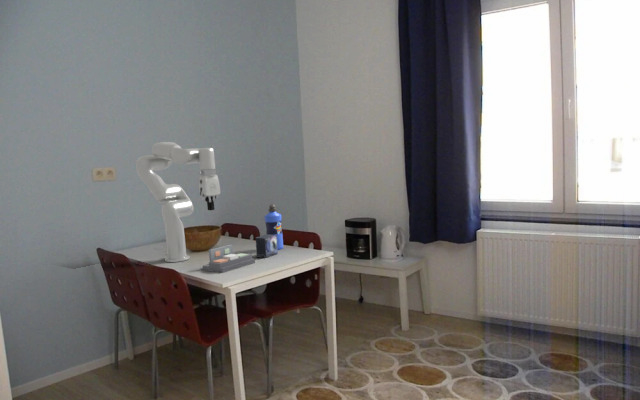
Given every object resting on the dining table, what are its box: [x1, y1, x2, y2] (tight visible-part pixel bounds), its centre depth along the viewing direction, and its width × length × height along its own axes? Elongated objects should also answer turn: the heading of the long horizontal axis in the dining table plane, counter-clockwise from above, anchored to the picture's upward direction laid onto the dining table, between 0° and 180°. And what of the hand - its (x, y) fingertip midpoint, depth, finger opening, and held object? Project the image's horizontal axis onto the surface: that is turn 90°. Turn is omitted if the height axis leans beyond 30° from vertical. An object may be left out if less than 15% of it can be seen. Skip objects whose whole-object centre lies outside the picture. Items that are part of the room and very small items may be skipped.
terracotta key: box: [213, 259, 228, 263], centre depth 238 cm, size 5×5×2 cm
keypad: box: [202, 244, 256, 274], centre depth 243 cm, size 14×21×9 cm, turn 143°
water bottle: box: [264, 203, 284, 251], centre depth 279 cm, size 9×9×25 cm
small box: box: [255, 234, 279, 259], centre depth 263 cm, size 11×6×10 cm, turn 148°
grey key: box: [223, 253, 238, 260], centre depth 243 cm, size 5×5×2 cm
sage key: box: [236, 252, 248, 257], centre depth 248 cm, size 5×5×2 cm
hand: (211, 209), depth 249 cm, fingers closed
